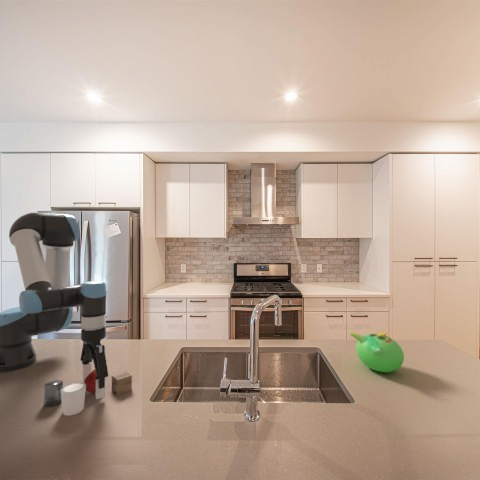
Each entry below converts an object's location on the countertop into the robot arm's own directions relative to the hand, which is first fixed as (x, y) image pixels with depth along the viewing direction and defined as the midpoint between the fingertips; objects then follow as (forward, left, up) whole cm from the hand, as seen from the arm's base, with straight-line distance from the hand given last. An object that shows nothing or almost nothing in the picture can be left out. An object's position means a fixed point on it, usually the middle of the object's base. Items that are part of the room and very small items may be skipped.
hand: (93, 389), depth 98 cm
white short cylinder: (+6, -8, -2) cm, 10 cm away
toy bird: (+61, +89, -2) cm, 108 cm away
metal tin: (-3, -11, -1) cm, 11 cm away
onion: (0, 0, -1) cm, 1 cm away
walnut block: (+4, +8, -1) cm, 9 cm away
